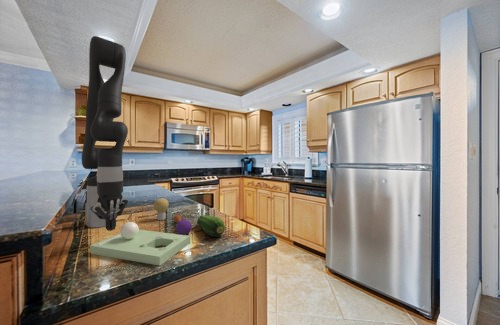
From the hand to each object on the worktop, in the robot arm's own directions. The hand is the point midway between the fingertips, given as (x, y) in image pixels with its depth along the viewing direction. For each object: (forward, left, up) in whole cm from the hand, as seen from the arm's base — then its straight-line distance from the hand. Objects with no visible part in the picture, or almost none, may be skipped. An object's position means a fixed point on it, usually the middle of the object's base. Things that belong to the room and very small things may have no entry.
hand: (110, 229), depth 74 cm
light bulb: (-1, +28, -5) cm, 28 cm away
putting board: (+13, 0, -5) cm, 14 cm away
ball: (+8, 0, +1) cm, 8 cm away
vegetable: (+27, +21, -5) cm, 34 cm away
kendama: (+14, +20, -5) cm, 25 cm away
